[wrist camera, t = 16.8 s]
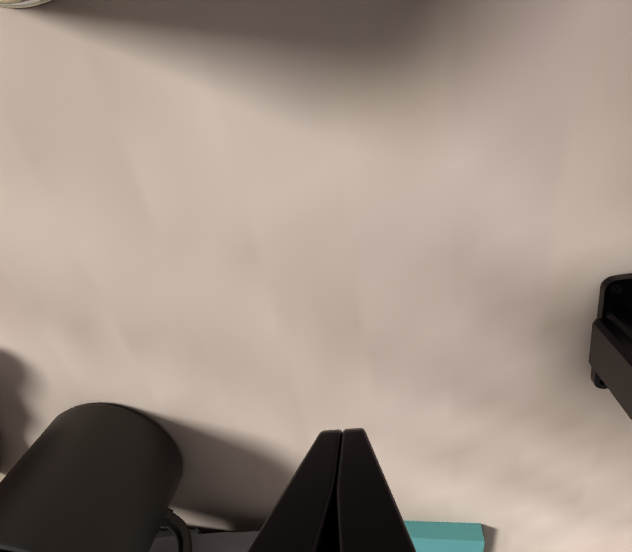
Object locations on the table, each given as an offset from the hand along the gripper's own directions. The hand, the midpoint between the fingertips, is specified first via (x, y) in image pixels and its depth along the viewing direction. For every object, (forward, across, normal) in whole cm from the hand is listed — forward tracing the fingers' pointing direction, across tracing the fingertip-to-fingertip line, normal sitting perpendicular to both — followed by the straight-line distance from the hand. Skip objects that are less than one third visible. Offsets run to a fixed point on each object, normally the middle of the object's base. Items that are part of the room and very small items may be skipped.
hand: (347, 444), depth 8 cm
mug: (+13, +18, +15) cm, 27 cm away
